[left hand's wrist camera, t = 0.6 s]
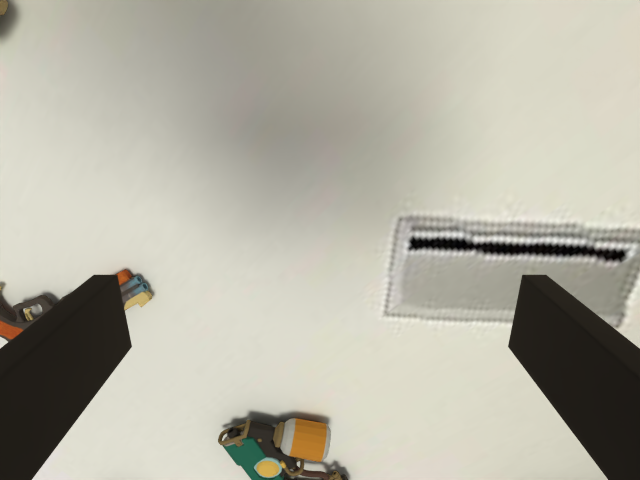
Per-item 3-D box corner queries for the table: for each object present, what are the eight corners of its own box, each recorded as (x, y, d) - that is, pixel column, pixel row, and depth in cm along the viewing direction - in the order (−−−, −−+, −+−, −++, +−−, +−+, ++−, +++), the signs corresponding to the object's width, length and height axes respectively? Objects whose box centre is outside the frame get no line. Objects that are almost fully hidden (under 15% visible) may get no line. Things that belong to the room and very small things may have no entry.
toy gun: (-53, 312, 41) (8, 385, 43) (91, 222, 39) (149, 303, 41) (-31, 303, 44) (26, 372, 46) (106, 218, 42) (159, 295, 44)
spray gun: (353, 490, 54) (248, 498, 55) (337, 401, 48) (219, 412, 49) (355, 523, 50) (242, 530, 51) (338, 430, 44) (209, 441, 45)
